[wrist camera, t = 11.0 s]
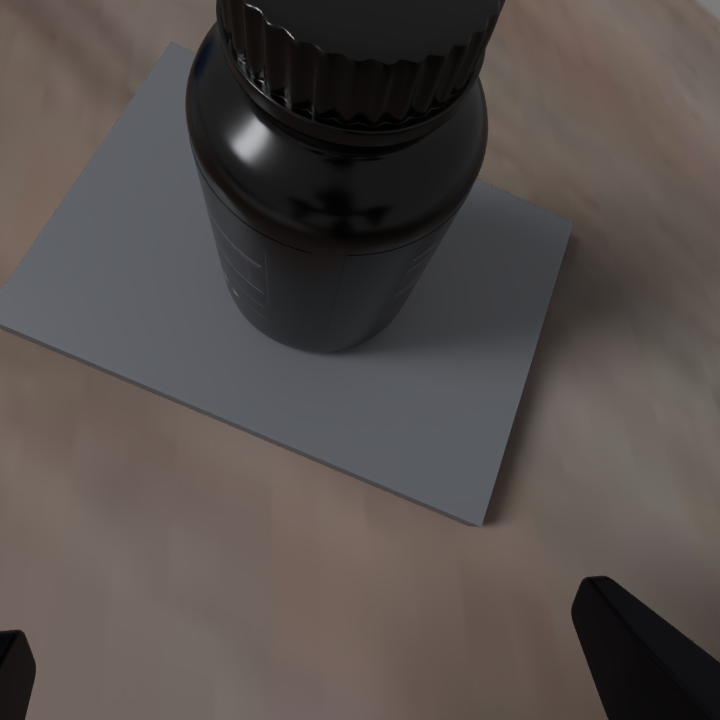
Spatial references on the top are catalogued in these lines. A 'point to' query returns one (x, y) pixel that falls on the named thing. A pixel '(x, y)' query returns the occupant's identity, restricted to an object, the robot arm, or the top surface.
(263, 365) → the board
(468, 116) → the supplement bottle
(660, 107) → the top surface
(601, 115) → the top surface
